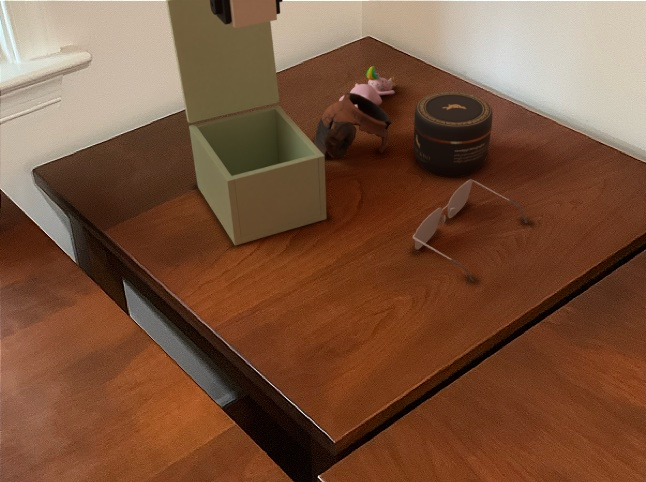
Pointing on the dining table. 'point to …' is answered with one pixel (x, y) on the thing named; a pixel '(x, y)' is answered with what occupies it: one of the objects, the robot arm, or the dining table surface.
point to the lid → (221, 62)
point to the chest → (259, 173)
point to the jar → (452, 133)
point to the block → (252, 12)
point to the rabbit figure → (374, 87)
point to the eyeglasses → (454, 206)
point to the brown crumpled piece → (350, 124)
